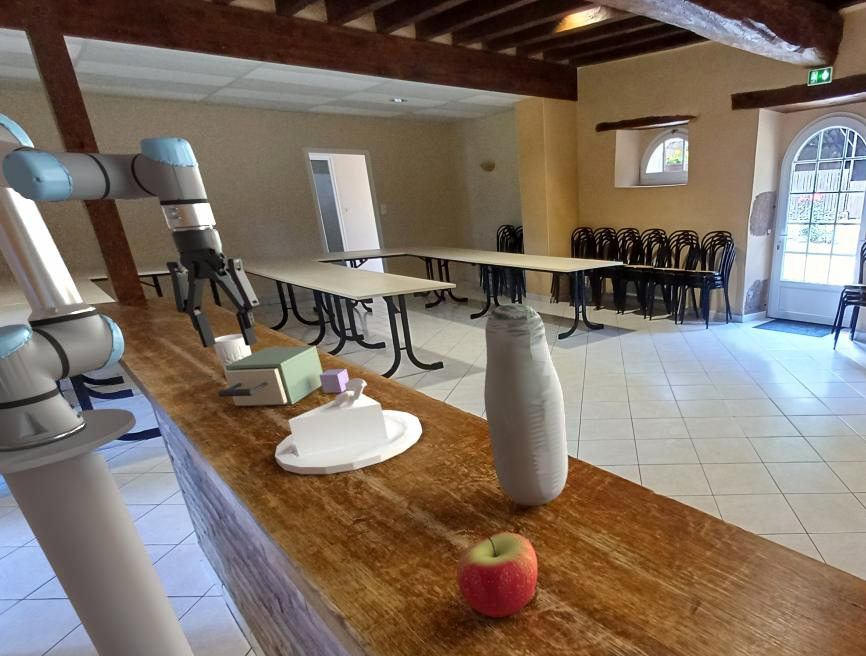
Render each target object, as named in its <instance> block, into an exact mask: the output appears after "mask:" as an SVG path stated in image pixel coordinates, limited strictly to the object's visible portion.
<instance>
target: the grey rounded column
mask: <svg viewBox="0 0 866 656" xmlns="http://www.w3.org/2000/svg"><path fill="white" fill-rule="evenodd" d="M545 329H546V328H545V324H544V321H543V320H542V317H541V315H539V313H538V312H537V311H536V310H535V309H534V308H533V307H531V306H529V305H526V304H522V303H504V304H500V305H499V306H497V307H496V308H494V309H493V310H492V311H491V312H490V313H489V315H488V317H487V320H486V324H485V344H486V365H485V375H484V377H485V379H484V390H483V392H484V393H483V397H484V409H485V417H486V422H487V429H488V433H489V438H490V444H491V451H492V458H493V465H494V470H495V474H496V479H497V481H498V484H499V485H500V486H501V489H502V491H503V492H504V493H505V495H506V496H507V497H508V498H510V499H511V500H513V501H514V502H516V503H518V504H520V505H522V506H523V505H524V506H528V507H529V506H530V507H536V506H537V507H539V506H542V505H546V504H548V503H550V502H552V501H553V500H555V499H556V498H557V497H558V496H560V494H561V493H562V491H563V490H564V488H565V485H566V482H567V479H568V473H569V457H568V445H567V432H566V431H567V430H566V416H565V402H564V396H563V389H562V386H561V382H560V379H559V376H558V374H557V370H556V368H555V366H554V363H553V360H552V356H551V353H550V350H549V345H548V342H547V339H546V338H547V337H546V330H545Z"/></svg>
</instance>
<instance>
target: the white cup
mask: <svg viewBox="0 0 866 656" xmlns="http://www.w3.org/2000/svg"><path fill="white" fill-rule="evenodd" d="M214 339H215V342H216V344H215V345H213V347H214V351H215V353H216V355H217V358H218V360H219V363H220V365H221V368H222V369H223V372H225V371H227V369H226V365H229V364H231V363H233V362H235V361H237V360H240V359H242V358H244V357H246V356H249V355H251V354H252V351H251V345H249V346H246V345H245V342H244V339H243V336H242V333H235V334H228V335H222V336H218V337H214Z"/></svg>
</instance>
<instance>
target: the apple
mask: <svg viewBox="0 0 866 656" xmlns="http://www.w3.org/2000/svg"><path fill="white" fill-rule="evenodd" d="M456 579H457V584H458V588H459V591H460V593H461V595H462V597H463V599H464V600H465V602H467V604H468V605H469V606H470V607H471V608H472V609H474V610H475V611H476V612H478V613H480V614H482V615H484V616H487V617H492V618H504V617H507V616H511V615H513V614H515V613H517V612H518V611H520V610H521V609H523V608H524V607H526V605H527V604H528V603H529V601H530V599H531V598H532V596H533V594H534V591H535V589H536V584H537V581H538V559H537V555H536V551H535V549H534V547H533V545H532V543H531V542H530V541H529V540H528V538H525V536H523V535H520V534H518V533H513V532H498V533H495V534H492V535H489V536H487V537H484V538H483V539H481V540H479V541H477V542H475V543H473V544H472V545H470V546H468V547H467V548H466V549H465V550H464V551H463V552H462V553H461V555H460V556H459V558H458V561H457V566H456Z"/></svg>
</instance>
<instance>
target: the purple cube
mask: <svg viewBox="0 0 866 656" xmlns="http://www.w3.org/2000/svg"><path fill="white" fill-rule="evenodd" d="M319 376H320V380H321V384H322V386H321V387H322V392H323V394H337V393H338V394H340V393H342V392H345V391H347V390H346V387H345V383H347V382H348V381H349V380H350V378H349V375H348V370H347V368H335V369H327V370H326V371H324V372H323V373H322V374H321V375H319Z"/></svg>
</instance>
